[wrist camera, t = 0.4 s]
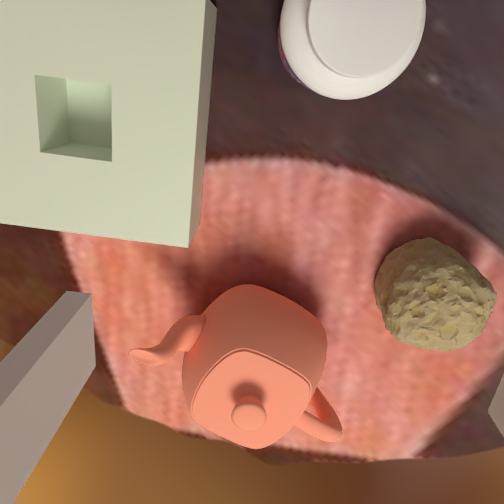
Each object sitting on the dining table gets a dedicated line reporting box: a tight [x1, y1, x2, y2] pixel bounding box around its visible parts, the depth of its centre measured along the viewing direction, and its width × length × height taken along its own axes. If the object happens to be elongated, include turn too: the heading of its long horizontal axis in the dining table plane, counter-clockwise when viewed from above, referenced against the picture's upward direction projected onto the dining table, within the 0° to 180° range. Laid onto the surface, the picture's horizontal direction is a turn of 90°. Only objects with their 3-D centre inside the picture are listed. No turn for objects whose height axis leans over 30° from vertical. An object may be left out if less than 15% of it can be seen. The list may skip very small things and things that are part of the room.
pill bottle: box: [278, 0, 426, 100], centre depth 27 cm, size 8×8×14 cm
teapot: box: [128, 284, 342, 449], centre depth 39 cm, size 13×20×12 cm, turn 60°
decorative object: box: [374, 237, 497, 351], centre depth 39 cm, size 9×10×10 cm
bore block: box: [0, 0, 217, 248], centre depth 34 cm, size 18×18×6 cm
